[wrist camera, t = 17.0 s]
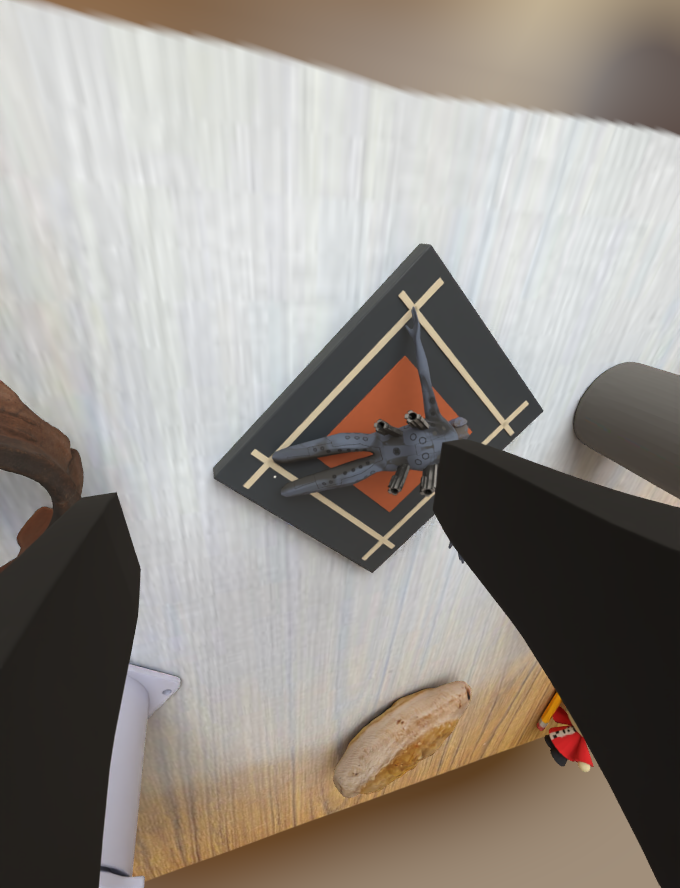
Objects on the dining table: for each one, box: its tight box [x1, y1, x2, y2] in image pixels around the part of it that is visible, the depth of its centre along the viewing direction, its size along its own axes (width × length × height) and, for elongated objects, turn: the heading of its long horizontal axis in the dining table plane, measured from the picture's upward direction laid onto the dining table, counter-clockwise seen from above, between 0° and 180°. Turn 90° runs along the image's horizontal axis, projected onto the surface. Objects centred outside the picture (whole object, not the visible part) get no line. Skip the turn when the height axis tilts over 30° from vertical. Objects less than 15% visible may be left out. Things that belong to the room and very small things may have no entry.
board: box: [213, 244, 543, 573], centre depth 21 cm, size 14×12×1 cm
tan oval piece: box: [333, 681, 472, 798], centre depth 34 cm, size 5×14×4 cm, turn 121°
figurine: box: [272, 307, 470, 563], centre depth 19 cm, size 12×10×5 cm
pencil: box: [537, 692, 562, 731], centre depth 43 cm, size 1×18×1 cm, turn 171°
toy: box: [545, 706, 593, 772], centre depth 42 cm, size 7×7×15 cm
